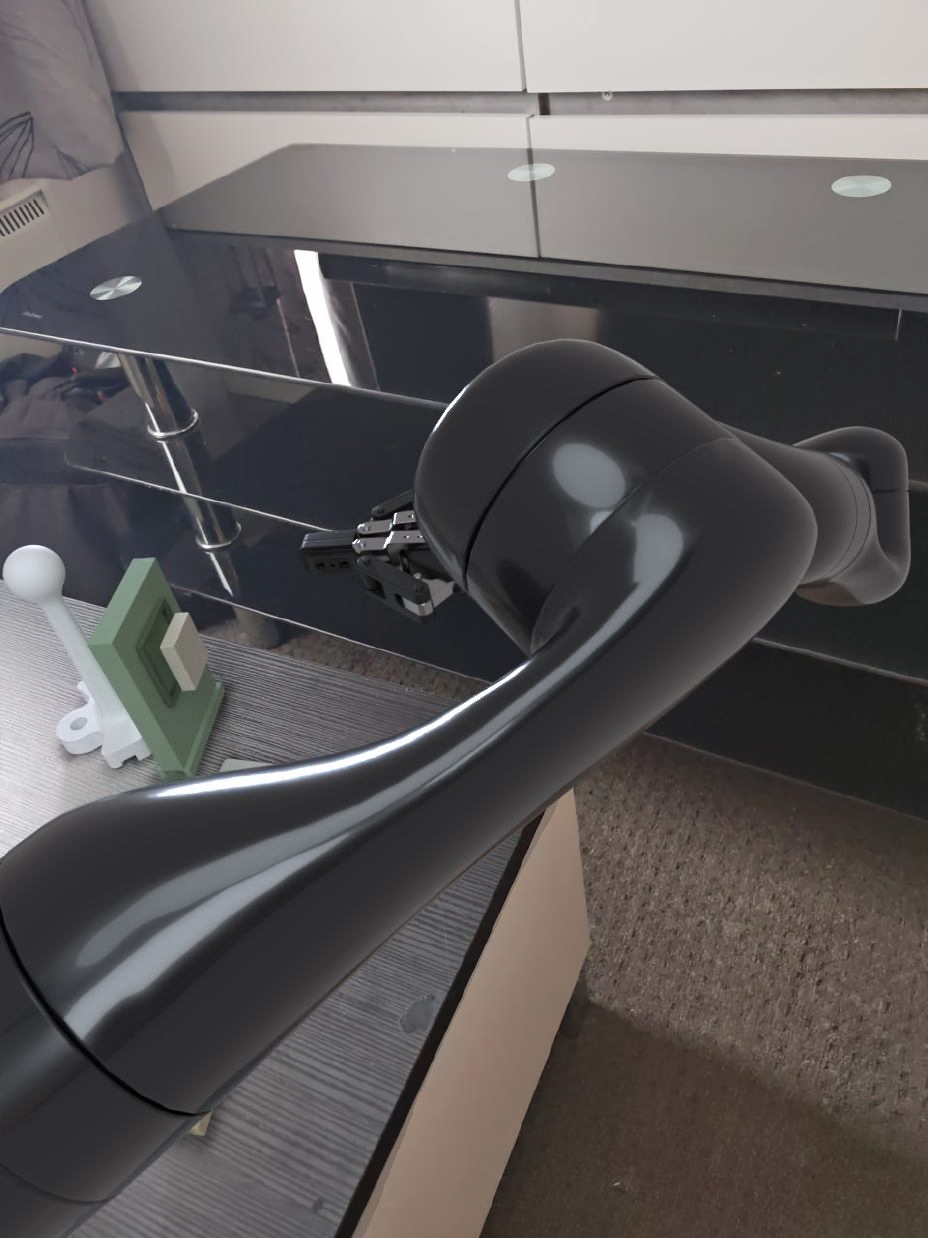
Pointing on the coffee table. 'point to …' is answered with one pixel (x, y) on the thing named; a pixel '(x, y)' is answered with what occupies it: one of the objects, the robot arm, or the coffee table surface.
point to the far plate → (154, 671)
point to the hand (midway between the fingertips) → (304, 554)
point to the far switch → (184, 651)
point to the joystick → (75, 661)
